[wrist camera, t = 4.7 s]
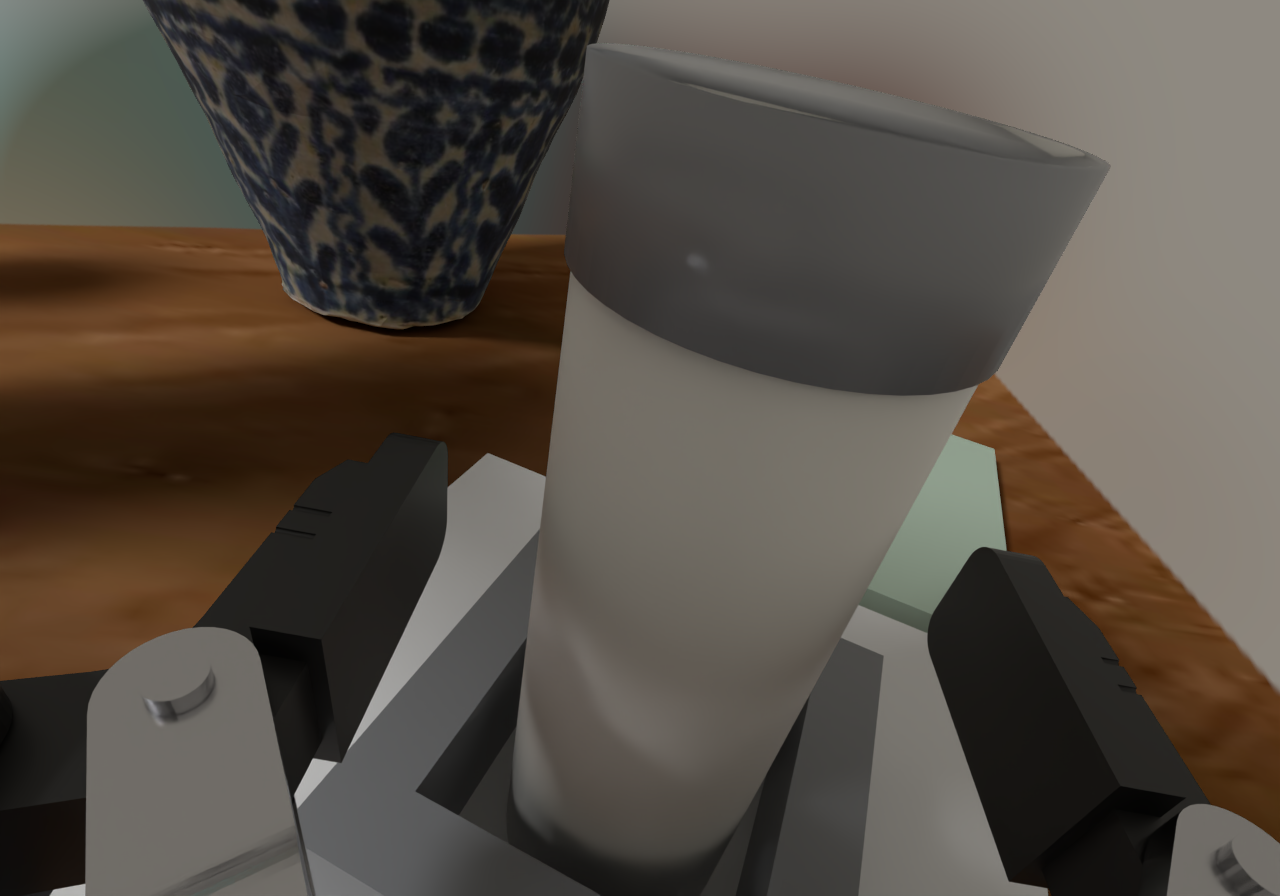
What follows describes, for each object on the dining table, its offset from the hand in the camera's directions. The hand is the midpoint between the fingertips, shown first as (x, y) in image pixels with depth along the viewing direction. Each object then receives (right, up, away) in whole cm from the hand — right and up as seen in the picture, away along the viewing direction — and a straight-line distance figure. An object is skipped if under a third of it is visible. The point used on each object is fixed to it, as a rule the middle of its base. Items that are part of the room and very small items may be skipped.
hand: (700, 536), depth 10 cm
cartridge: (-1, -7, +5) cm, 9 cm away
